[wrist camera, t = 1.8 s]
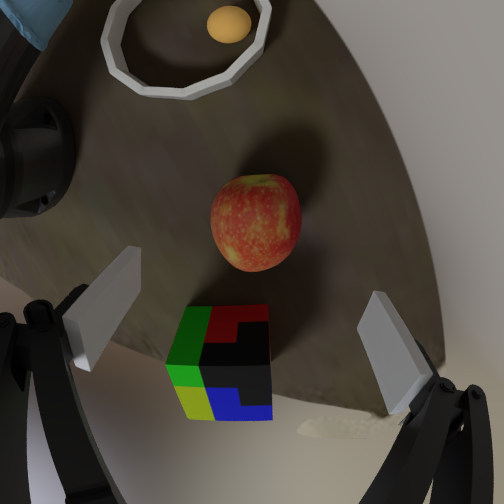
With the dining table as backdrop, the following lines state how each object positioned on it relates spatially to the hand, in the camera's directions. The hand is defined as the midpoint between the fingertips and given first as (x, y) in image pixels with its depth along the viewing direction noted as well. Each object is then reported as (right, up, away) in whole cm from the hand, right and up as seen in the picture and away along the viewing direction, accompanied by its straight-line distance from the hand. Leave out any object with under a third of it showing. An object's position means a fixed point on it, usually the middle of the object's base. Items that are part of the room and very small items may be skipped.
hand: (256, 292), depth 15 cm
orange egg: (-2, +24, +6) cm, 24 cm away
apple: (0, +6, +14) cm, 15 cm away
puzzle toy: (-3, -9, +21) cm, 23 cm away
